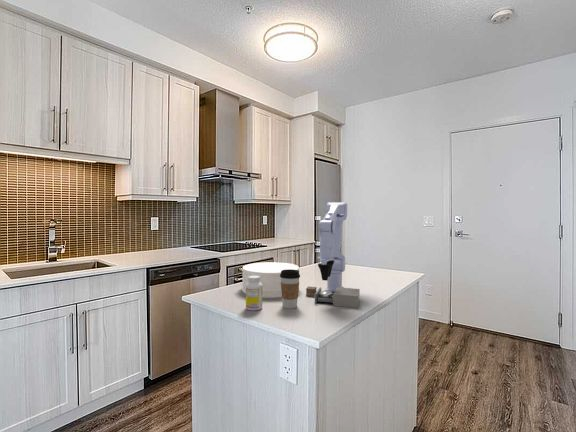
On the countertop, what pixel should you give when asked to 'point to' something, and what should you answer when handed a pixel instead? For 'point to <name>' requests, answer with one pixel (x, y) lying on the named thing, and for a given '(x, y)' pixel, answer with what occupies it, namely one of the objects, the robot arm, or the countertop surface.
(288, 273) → the coffee cup
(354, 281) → the countertop surface
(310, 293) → the brown cube
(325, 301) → the tray
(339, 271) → the robot arm
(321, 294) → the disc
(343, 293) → the block
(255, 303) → the supplement bottle
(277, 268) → the plate stack
